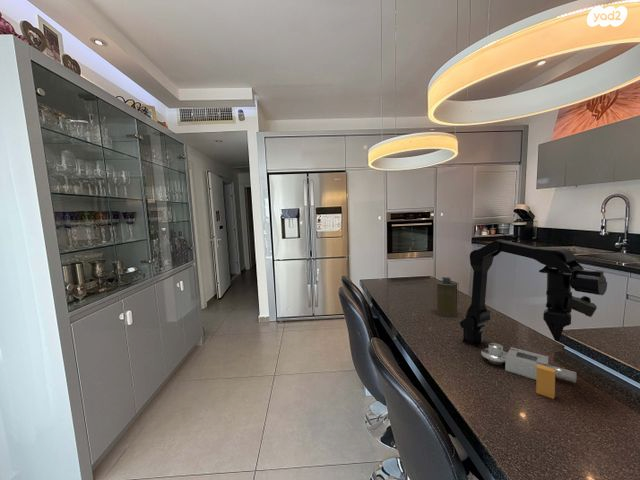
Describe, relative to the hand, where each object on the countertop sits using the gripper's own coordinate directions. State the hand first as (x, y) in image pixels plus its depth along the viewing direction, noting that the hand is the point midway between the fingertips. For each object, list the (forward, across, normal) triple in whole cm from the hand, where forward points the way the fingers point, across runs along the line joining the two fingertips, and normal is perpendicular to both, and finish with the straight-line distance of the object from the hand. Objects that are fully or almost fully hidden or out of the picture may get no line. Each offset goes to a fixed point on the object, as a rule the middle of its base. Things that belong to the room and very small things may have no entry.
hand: (557, 335), depth 86 cm
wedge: (+14, -13, +2) cm, 19 cm away
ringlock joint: (+14, -2, +8) cm, 16 cm away
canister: (+14, +38, +46) cm, 62 cm away
